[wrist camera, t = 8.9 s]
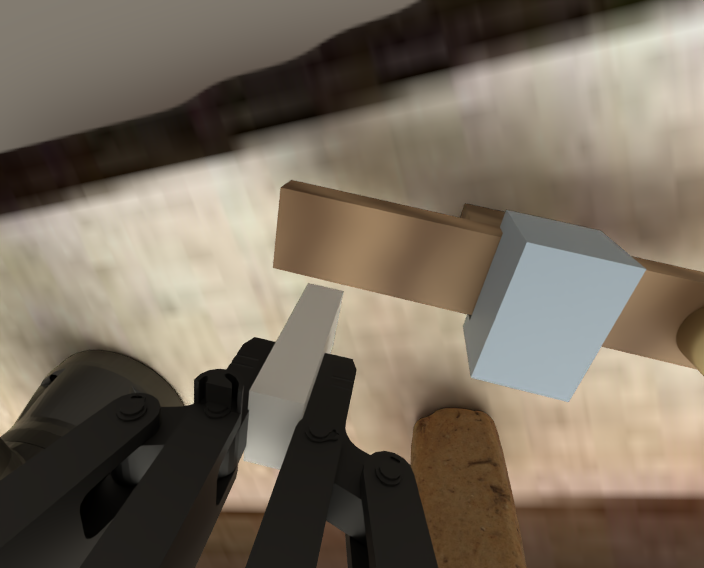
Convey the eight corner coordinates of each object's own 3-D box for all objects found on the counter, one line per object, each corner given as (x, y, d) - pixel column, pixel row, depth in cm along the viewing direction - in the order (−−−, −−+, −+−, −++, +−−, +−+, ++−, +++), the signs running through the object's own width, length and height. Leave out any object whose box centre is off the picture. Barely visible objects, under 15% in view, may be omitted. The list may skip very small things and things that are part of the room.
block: (410, 399, 36) (394, 698, 19) (497, 399, 35) (571, 725, 17) (419, 482, 41) (414, 786, 23) (497, 485, 39) (555, 814, 22)
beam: (303, 231, 31) (254, 290, 22) (312, 164, 28) (260, 201, 20) (678, 318, 29) (789, 420, 20) (720, 254, 27) (866, 339, 18)
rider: (463, 326, 25) (470, 377, 21) (506, 209, 22) (526, 242, 17) (543, 345, 25) (568, 402, 20) (600, 230, 21) (646, 269, 17)
